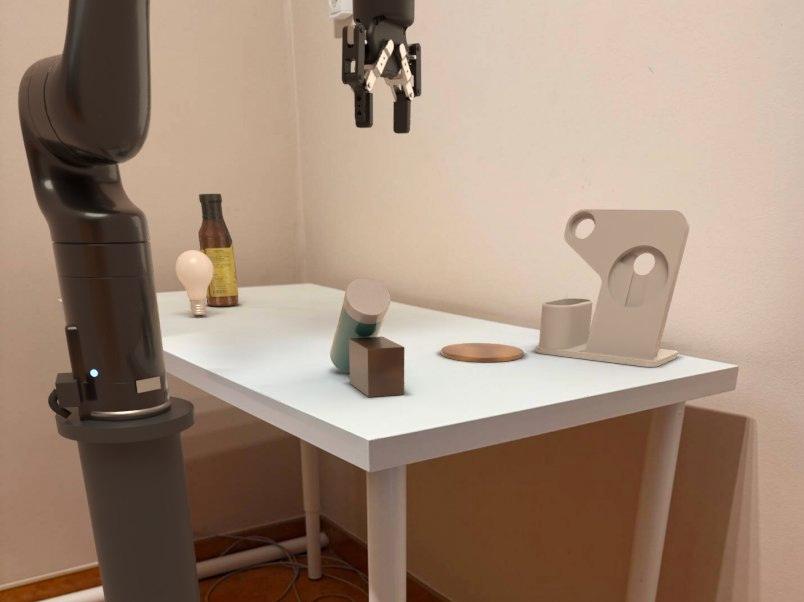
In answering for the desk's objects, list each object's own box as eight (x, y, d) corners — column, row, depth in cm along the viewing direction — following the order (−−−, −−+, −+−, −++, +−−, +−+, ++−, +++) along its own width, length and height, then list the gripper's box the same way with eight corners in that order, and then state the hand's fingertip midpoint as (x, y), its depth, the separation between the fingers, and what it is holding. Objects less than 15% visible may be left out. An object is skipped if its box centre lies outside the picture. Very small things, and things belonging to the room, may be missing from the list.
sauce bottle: (245, 305, 149) (237, 193, 141) (221, 308, 144) (211, 193, 136) (222, 302, 152) (212, 193, 144) (198, 305, 147) (186, 193, 139)
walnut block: (368, 397, 79) (367, 349, 77) (349, 383, 85) (348, 338, 83) (404, 394, 81) (404, 346, 79) (383, 381, 87) (383, 336, 85)
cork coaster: (461, 364, 96) (461, 359, 96) (429, 349, 105) (429, 345, 105) (538, 359, 99) (538, 354, 99) (500, 345, 109) (500, 341, 109)
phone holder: (529, 352, 104) (540, 208, 97) (562, 342, 112) (574, 208, 104) (653, 367, 95) (676, 210, 87) (680, 356, 102) (703, 210, 95)
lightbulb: (188, 320, 129) (181, 251, 125) (175, 315, 134) (167, 249, 129) (223, 317, 133) (217, 250, 128) (209, 313, 137) (203, 248, 133)
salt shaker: (352, 388, 83) (350, 281, 78) (326, 369, 92) (323, 272, 88) (395, 385, 84) (395, 280, 80) (365, 366, 94) (363, 271, 89)
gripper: (390, -5, 99) (390, 136, 105) (322, -33, 87) (326, 126, 94) (440, -13, 95) (436, 134, 101) (375, -43, 84) (375, 124, 90)
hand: (383, 130), depth 98 cm, fingers open, 8 cm apart
